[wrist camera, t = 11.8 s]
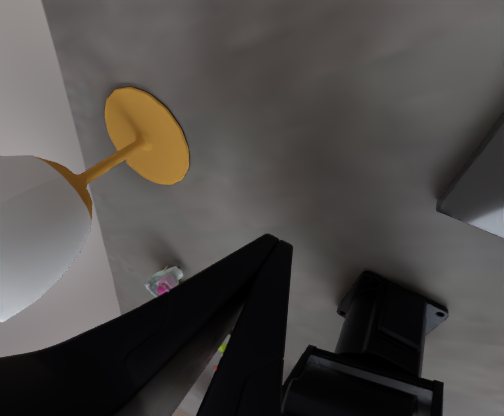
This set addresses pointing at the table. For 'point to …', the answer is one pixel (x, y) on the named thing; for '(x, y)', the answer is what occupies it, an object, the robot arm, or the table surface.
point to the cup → (75, 196)
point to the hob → (479, 186)
